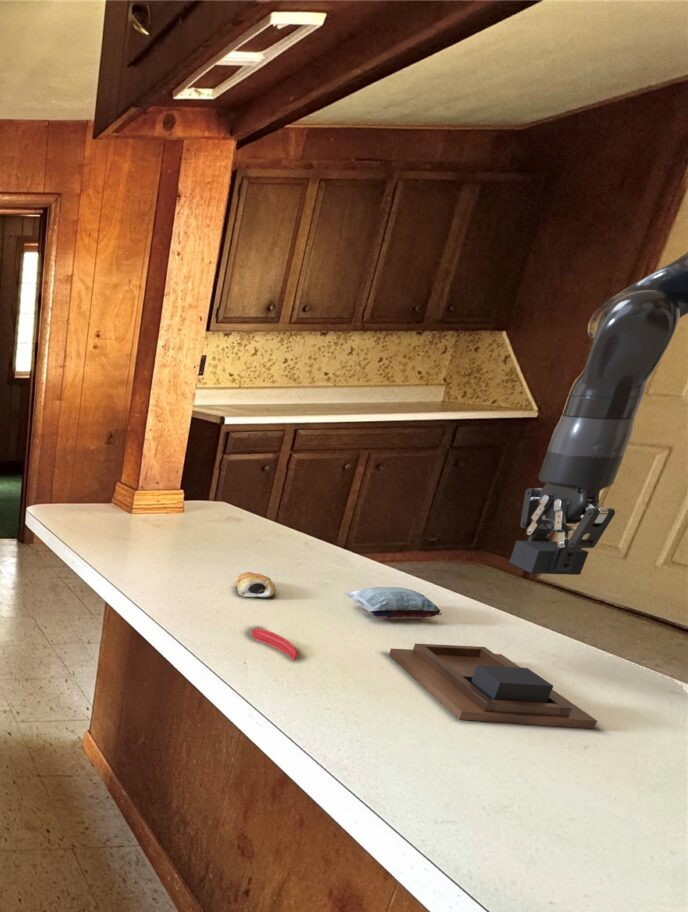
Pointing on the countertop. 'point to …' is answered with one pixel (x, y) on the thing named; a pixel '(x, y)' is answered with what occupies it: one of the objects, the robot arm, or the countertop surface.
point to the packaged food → (394, 603)
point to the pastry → (254, 585)
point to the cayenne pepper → (275, 642)
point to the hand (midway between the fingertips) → (544, 565)
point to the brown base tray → (450, 683)
